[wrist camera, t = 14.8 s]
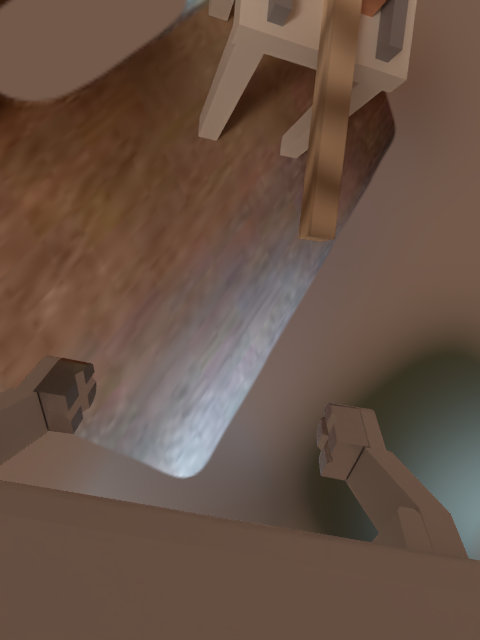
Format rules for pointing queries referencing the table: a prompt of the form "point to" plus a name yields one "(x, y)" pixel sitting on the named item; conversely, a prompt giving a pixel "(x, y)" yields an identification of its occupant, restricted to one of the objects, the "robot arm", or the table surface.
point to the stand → (303, 55)
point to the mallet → (331, 115)
